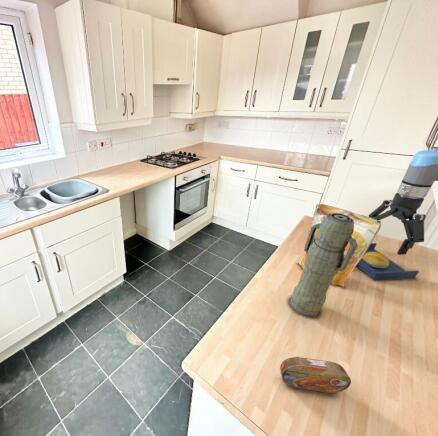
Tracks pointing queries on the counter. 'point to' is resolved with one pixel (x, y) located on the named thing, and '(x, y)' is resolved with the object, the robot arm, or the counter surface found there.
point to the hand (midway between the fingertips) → (384, 243)
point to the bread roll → (375, 260)
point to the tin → (314, 375)
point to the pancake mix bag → (362, 234)
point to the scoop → (385, 269)
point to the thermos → (323, 262)
